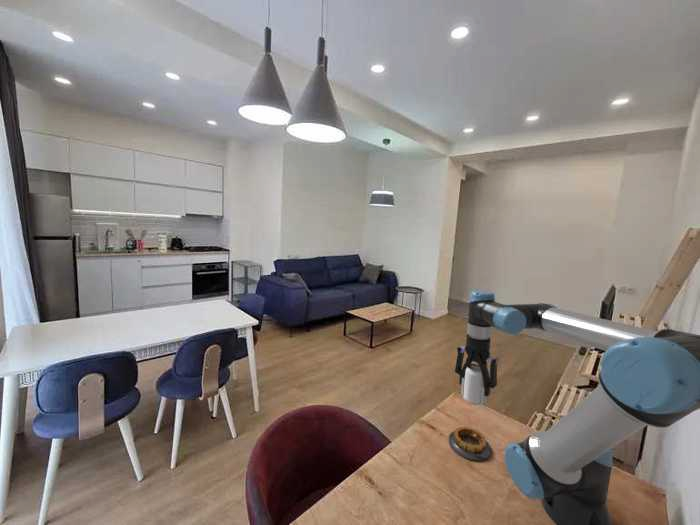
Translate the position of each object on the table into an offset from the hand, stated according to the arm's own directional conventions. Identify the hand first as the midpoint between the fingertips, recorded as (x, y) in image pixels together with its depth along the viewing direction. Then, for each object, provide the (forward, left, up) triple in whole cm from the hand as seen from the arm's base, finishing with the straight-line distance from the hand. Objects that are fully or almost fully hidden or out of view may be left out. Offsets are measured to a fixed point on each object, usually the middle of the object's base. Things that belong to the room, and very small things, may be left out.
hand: (473, 398), depth 102 cm
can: (0, 0, -1) cm, 1 cm away
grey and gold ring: (0, 0, -18) cm, 18 cm away
